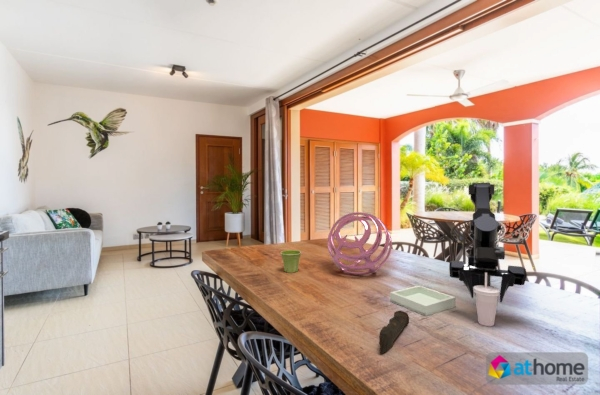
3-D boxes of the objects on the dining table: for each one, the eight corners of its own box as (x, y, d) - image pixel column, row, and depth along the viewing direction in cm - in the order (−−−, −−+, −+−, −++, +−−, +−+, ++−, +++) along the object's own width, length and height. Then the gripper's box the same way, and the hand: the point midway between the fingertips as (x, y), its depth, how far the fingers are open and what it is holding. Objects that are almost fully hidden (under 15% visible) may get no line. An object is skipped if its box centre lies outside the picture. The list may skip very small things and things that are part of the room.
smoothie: (496, 320, 89) (496, 271, 88) (502, 329, 83) (503, 277, 82) (470, 317, 91) (471, 269, 90) (475, 326, 85) (475, 275, 84)
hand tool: (394, 322, 89) (394, 306, 88) (409, 326, 86) (409, 309, 86) (369, 352, 73) (368, 332, 73) (386, 357, 71) (385, 337, 70)
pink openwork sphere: (352, 222, 163) (337, 194, 142) (405, 239, 147) (397, 211, 126) (327, 270, 154) (307, 247, 133) (381, 294, 138) (368, 272, 117)
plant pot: (301, 273, 138) (301, 254, 138) (280, 274, 138) (279, 254, 138) (301, 268, 147) (301, 249, 147) (281, 268, 148) (281, 250, 147)
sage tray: (418, 293, 111) (418, 285, 111) (455, 306, 99) (455, 297, 99) (390, 301, 104) (390, 292, 104) (425, 316, 92) (425, 306, 92)
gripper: (449, 233, 94) (447, 280, 84) (526, 237, 85) (533, 290, 76) (450, 254, 101) (448, 299, 92) (520, 260, 92) (526, 310, 83)
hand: (486, 299), depth 85 cm, fingers closed on smoothie, 6 cm apart
